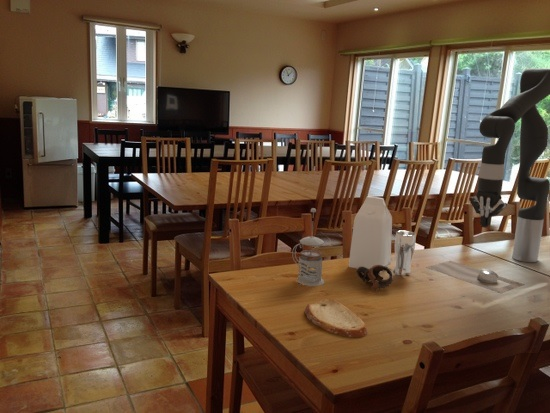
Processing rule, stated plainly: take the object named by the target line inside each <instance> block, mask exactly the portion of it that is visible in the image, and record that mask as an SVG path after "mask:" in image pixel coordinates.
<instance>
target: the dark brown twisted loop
mask: <svg viewBox="0 0 550 413" xmlns="http://www.w3.org/2000/svg"><path fill="white" fill-rule="evenodd" d="M383 270H384V271H385V272H386V273H387V274H388V275H389V278H387V279H384V277H383V276H381V275H380V274H379V272H380V271H382V272H384V271H383ZM356 274H357V276H358V278H359V279H361V280H362V283H369V282H371V283H373V284H372V286H371V290H372V291H374V292H376V291H378V290H382V289H385V288H388V287H389V286H390V285H392V282H393V281H394V279H393V272H392V271H391V269H390V268H387V266H382V265H374V266H373V267H372V268H370V269H367V268H365V267H359V268H358V269H356Z"/></svg>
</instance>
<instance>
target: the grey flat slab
mask: <svg viewBox="0 0 550 413" xmlns="http://www.w3.org/2000/svg"><path fill="white" fill-rule="evenodd" d="M425 268H427V269H429V270H432V271H435V272H437V273H441V274H444V275H447V276H450V277H452V278H455V279H459V280H462V281H465V282H468V283H470V284H473V285H476V286H479V287H482V288H485V289H488V290H491V291H494V292H496V293H498V294H499V293H500V294H502V293H505V292H509V291H511V290H514V289H517V288H518V287H522V286H524V285H525V284H524V283H522V282H518V281H517V280H516V281H515V280H513V279H510V278H506V277H503V276H499V275H498V279H497V281H502V282H504V283H508V285H505V286H502V287H496V286H493V285H491V284H489V283H484V282H481V281H479V280H478V279H477V277H478V275H479V272H480V270H481V269H478V268H474V267H471V266H468V265H465V264H462V263H458V262H456V261H452V260H449V261H445V262H441V263H437V264H433V265H430V266H426V267H425Z"/></svg>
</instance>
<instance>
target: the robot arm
mask: <svg viewBox="0 0 550 413" xmlns="http://www.w3.org/2000/svg"><path fill="white" fill-rule="evenodd" d="M519 80H520V81H519V93H518V94H516V95H514V96H512V97H510V98H509V99H508V100H507V101H506V102H504V104H503V105H502V106H501V107H499V108H497V109H496V110H494V111H492V112H490V113H488V114H487V115H486V116H484V117H483V119H482V120H481V122H480V124H479V128H478V129H479V133H480V134H481V135H482V136H483V137H485V138H491V139H497V141H496V142H495V143H494V144H489V145H485V146H483V148H482V153H481V154H482V155H481V161H480V162H481V164H480V167H479V170H478V171H479V172H478V181H477V192H476V194H475V195H474V196H472V197H469V202H470V203H471V206H472V207H473V210H474V211H475V213H476V214H479V215H480V222H479V224H480V227H481V228H485V229H486V228H489V227H490V226H491V222H492V217H496V216H498V215H499V214H500V213H501V212H502V211H503V210H504V209H505V208H506V207H508V203H507V202H504V201H503V200H502V199H503V198H502V194H501V193H502V191H503V190H502V189H503V182H504V174H505V160H506V153H507V150H508V147H509V145H510V142H511V140H512V138H513V136H514V133H515V130H516V123H517V122H518V121H519V120H520V130H519V131H520V132H519V137H520V138H519V169H518V176H517V177H518V178H517V186H516V195H517V197H518V198H519V199H521V200H525V201H532V202H535V204H533V205H532V206H529V207H522V208H520V209H519V210H518V212H517V218H516V219H517V220H516V225H515V234H514V241H513V247H512V253H511V254H512V255H511V258H512V259H513V260H516V261H520V262H524V263H537V262H538V260H539V254H540V248H541V247H540V246H541V242H542V240H541V239H542V234H543V228H544V220H545V214H546V209H547V203H548V198H549V194H550V180H549V179H547V178H544V177H536V176H530V174H531V169H532V167H533V166H534V165H535V163H536V162H537V160H538V159H539V158H540V157H541V156H542V155H543V153H544V152H545V151H546V149H547V147H548V139H549V128H548V125H547V123H546V121H545V119H544V118H543V117H542V115H541V114H540V111H539V110H538V109H537V106H536V105H537V104H538V103H540V102H541V101H543V100H544V99H546V98H547V97H549V96H550V68H526V69H525V70H523V71H522V73H521V76H520V79H519ZM496 206H497V207H496Z"/></svg>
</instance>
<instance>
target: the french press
mask: <svg viewBox="0 0 550 413" xmlns="http://www.w3.org/2000/svg"><path fill="white" fill-rule="evenodd" d="M310 213H312V217H314V215H315V214H314V213H317V209H316V208H314V207H311V209H310ZM311 224H312V227H311V236H305V237H303V238H301V239H299V243H298V244H295V246H294V247H293V249H292V252H291V253H292V259H293V261H294V263H295V264H296V265H297V266H298V276H297V277H298V278H297V277H296V278H297V281H298V282H299V283H301V284H304V285H308V286H307V287H318V286H322V285H324V283H325V281H324V279H323V278H322V277H323V276H322V272H323V256H322V255H323V253H322V252H320V251H318V250H312V249H313V247H319V246H323V245H324V244H325V242H324V240H323V239H321V238H319V237H318V236H317V237H316V236H313V232H314V231H313V230H314V222H312V223H311ZM304 246H309V247H310V249H308V250H307V249H305V250H302V251H300V256H299V257H298V258H299V259H298V258H297V255H296V252H297V251H296V250H297V247H299V248H300V249H302V248H304ZM294 257H295V258H294ZM295 259H296V260H295ZM297 262H298V263H297ZM301 284H300V285H301ZM304 285H303V286H304Z"/></svg>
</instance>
